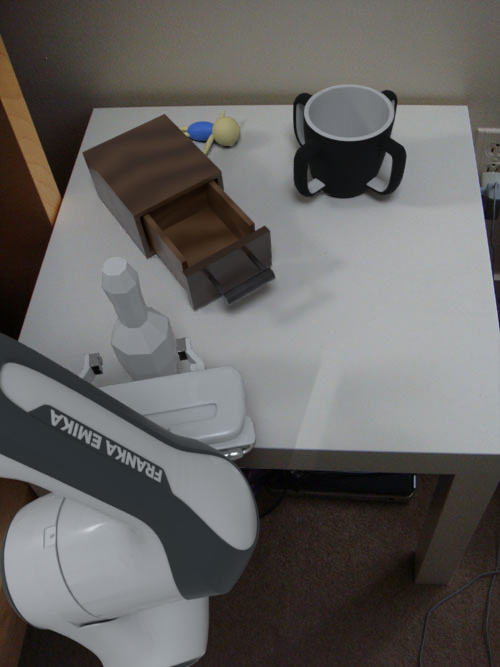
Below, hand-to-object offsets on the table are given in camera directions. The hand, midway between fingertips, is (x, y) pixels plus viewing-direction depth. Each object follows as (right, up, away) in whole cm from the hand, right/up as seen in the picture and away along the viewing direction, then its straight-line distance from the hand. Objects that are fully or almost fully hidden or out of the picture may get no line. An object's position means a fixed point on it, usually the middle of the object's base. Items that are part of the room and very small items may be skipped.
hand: (138, 348), depth 62 cm
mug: (+26, +25, +29) cm, 46 cm away
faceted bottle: (0, -4, +12) cm, 12 cm away
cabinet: (-2, +21, +28) cm, 35 cm away
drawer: (+7, +11, +20) cm, 24 cm away
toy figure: (+4, +32, +35) cm, 48 cm away
